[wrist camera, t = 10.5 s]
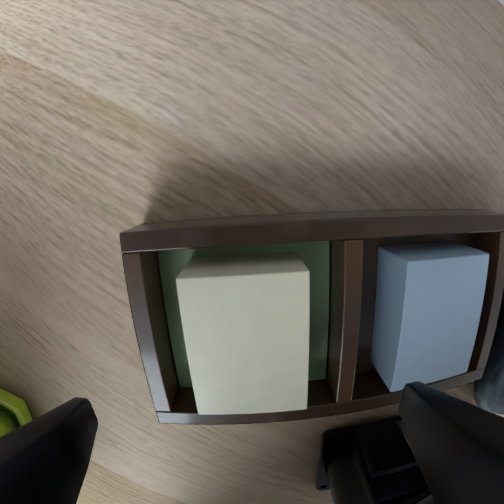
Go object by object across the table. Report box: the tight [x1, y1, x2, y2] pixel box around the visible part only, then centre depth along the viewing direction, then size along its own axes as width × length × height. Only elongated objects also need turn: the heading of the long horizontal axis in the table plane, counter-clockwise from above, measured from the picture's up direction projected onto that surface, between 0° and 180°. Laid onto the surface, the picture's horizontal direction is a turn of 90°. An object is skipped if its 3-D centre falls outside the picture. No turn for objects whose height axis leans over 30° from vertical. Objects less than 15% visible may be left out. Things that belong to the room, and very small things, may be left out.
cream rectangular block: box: [176, 252, 310, 415], centre depth 13 cm, size 6×4×3 cm
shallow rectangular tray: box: [120, 209, 504, 425], centre depth 13 cm, size 9×17×3 cm, turn 93°
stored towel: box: [370, 241, 489, 392], centre depth 13 cm, size 6×4×3 cm
